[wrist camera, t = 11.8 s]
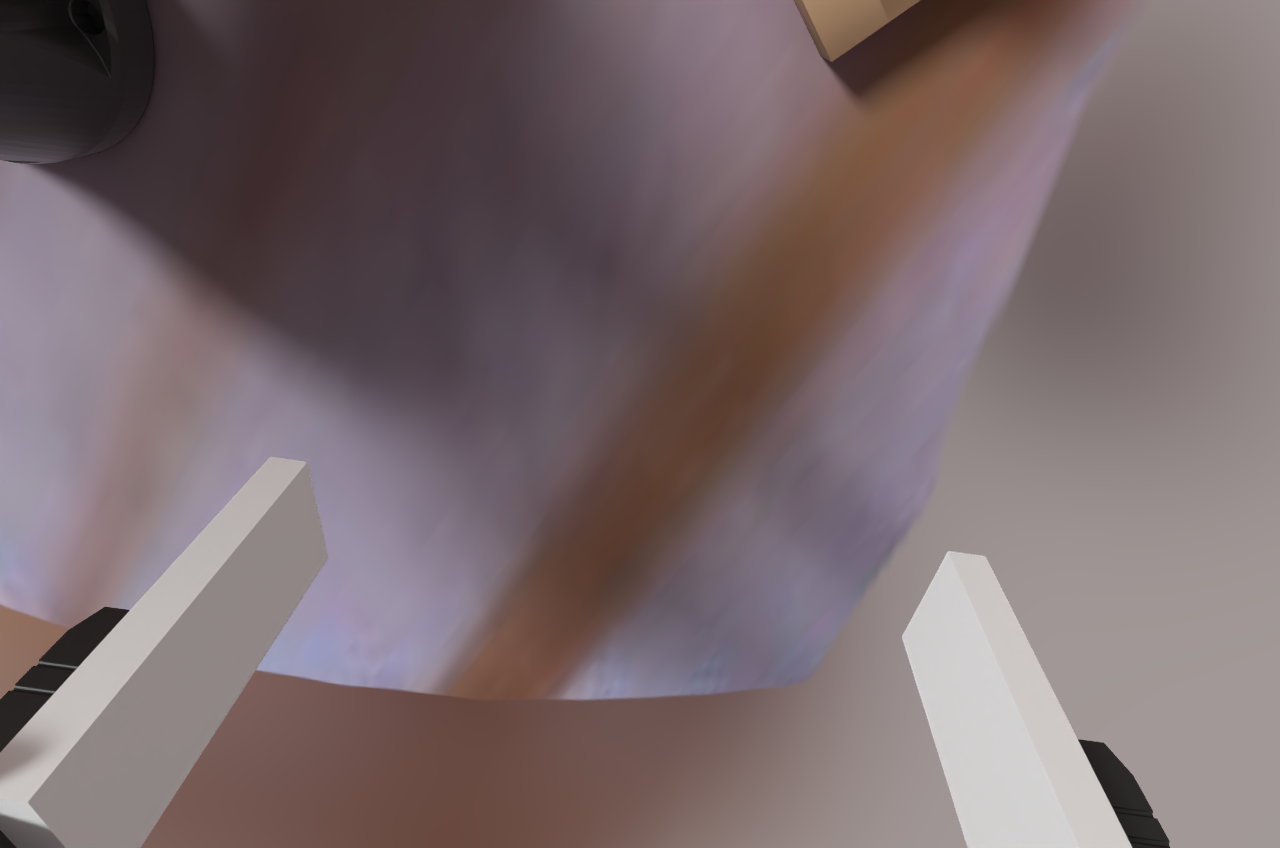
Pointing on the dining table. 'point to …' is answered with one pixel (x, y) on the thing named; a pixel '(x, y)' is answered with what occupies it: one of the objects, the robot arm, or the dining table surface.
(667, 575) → the dining table surface
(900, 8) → the brown square frame
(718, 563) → the dining table surface
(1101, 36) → the dining table surface
